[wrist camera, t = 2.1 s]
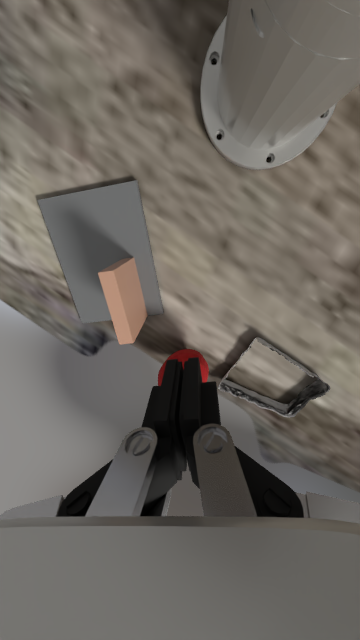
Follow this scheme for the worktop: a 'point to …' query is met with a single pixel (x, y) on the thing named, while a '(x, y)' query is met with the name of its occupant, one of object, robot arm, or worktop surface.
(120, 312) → the tile
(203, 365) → the strawberry
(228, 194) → the worktop surface
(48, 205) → the mat
